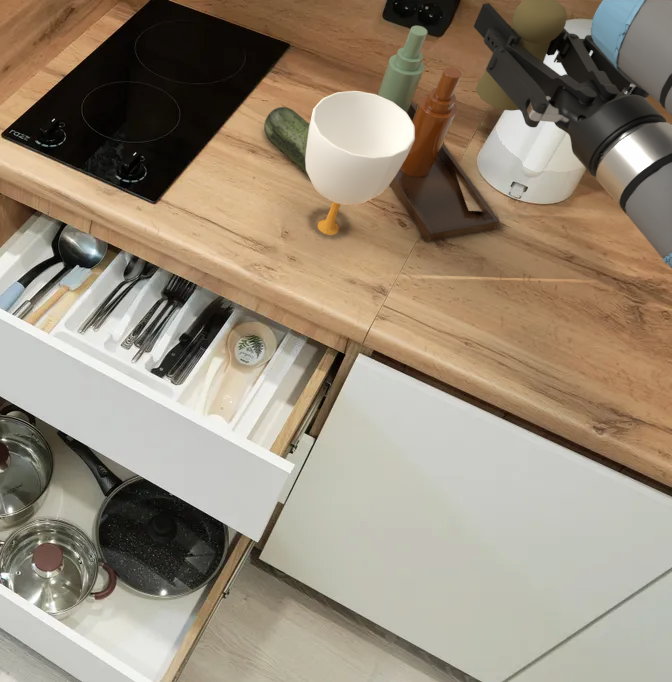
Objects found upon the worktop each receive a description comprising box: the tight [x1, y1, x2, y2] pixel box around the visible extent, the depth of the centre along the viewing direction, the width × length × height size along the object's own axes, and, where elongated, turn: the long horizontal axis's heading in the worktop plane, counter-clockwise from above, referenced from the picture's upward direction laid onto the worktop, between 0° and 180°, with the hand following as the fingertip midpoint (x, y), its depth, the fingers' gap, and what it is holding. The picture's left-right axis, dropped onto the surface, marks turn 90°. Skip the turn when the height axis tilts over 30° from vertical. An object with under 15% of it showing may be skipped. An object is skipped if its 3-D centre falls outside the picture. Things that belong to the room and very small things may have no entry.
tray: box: [389, 100, 501, 243], centre depth 111 cm, size 27×10×2 cm, turn 16°
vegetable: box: [263, 106, 310, 176], centre depth 109 cm, size 14×5×5 cm, turn 36°
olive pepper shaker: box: [475, 0, 568, 112], centre depth 87 cm, size 6×6×11 cm
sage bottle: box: [376, 25, 428, 113], centre depth 110 cm, size 5×5×15 cm
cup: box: [305, 90, 415, 236], centre depth 96 cm, size 12×12×17 cm
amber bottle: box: [400, 66, 462, 177], centre depth 105 cm, size 5×5×15 cm
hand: (503, 12), depth 89 cm, fingers closed on olive pepper shaker, 5 cm apart
